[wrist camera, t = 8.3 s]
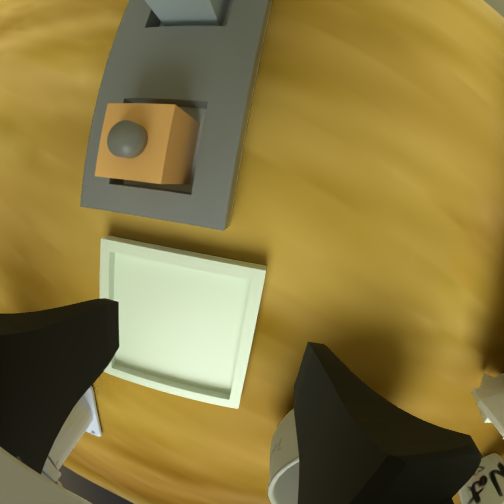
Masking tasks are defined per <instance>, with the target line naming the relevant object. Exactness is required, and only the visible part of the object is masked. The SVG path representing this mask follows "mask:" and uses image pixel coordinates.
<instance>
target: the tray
mask: <svg viewBox="0 0 504 504" xmlns="http://www.w3.org/2000/svg"><path fill="white" fill-rule="evenodd" d="M266 268H267V266H266V265H260V264H255V263H249V262H244V261H239V260H233V259H228V258H223V257H218V256H212V255H207V254H202V253H197V252H191V251H186V250H181V249H176V248H171V247H165V246H160V245H155V244H150V243H145V242H140V241H135V240H130V239H125V238H120V237H115V236H110V235H109V236H106V237H103V238H101V249H100V299H101V298H107V299H110V300H114V301H117V302H119V346H120V347H119V348H118V350H117V352H116V354H115V355H114V357H113V359H112V360H111V362H110V363H109V365H108V366H107V367H106V369H105V370H104V372H105V373H108V374H110V375H113V376H116V377H119V378H122V379H125V380H128V381H131V382H134V383H137V384H140V385H143V386H146V387H150V388H153V389H156V390H160V391H163V392H167V393H170V394H174V395H178V396H182V397H186V398H190V399H194V400H198V401H202V402H207V403H211V404H216V405H221V406H226V407H231V408H236V409H238V407H239V402H240V398H241V393H242V388H243V383H244V379H245V374H246V369H247V364H248V360H249V355H250V350H251V345H252V340H253V335H254V330H255V325H256V320H257V315H258V310H259V305H260V300H261V295H262V290H263V285H264V280H265V274H266Z"/></svg>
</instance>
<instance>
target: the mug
mask: <svg viewBox="0 0 504 504" xmlns="http://www.w3.org/2000/svg"><path fill="white" fill-rule="evenodd" d="M459 495H460V499H461V504H504V460H503V459H502V458H501V457H500V456H499V455H498V454H496V453H492V454H489V455H487V456H485V457H483V458H481V463H480V465H479V467H478V469H477V471H476V472H475V474H474V475H473V476H472V477H471V478H470V480H469V481H468V482H467V483H466V484H465V485H464V486H463V487H462V488H461V489H460V490H459Z"/></svg>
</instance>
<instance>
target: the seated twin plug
mask: <svg viewBox="0 0 504 504" xmlns="http://www.w3.org/2000/svg"><path fill="white" fill-rule="evenodd" d="M145 1H146V3H147V4H148V5H149V7H150V8H151V9H152V10H153V12H154V13H155V14H156V15H157V17H158V18H159V19H160V21H161V22H162V23H163V25H164V26H194V25H198V26H222V25H223V22H224V18H225V15H226V11H227V8H228V4H229V1H230V0H145Z"/></svg>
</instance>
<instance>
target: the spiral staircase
mask: <svg viewBox="0 0 504 504" xmlns="http://www.w3.org/2000/svg"><path fill="white" fill-rule="evenodd" d="M472 394H473V397H474V399H475V401H476V404H477V406H478V409H479V411H480V413H481V416H482V419H483V421H484V423H493V425H494V426H495V427H496V429H497V430H498V431H499V433H500V434H501V435H502V436H503V439H504V373H502V374H501V375H499V376H497V377H495V378H494V377H492V376H490V375H487V374H485V373H484V374H483V376H482V380H481V384H480V388H474V389H473V390H472Z"/></svg>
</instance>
